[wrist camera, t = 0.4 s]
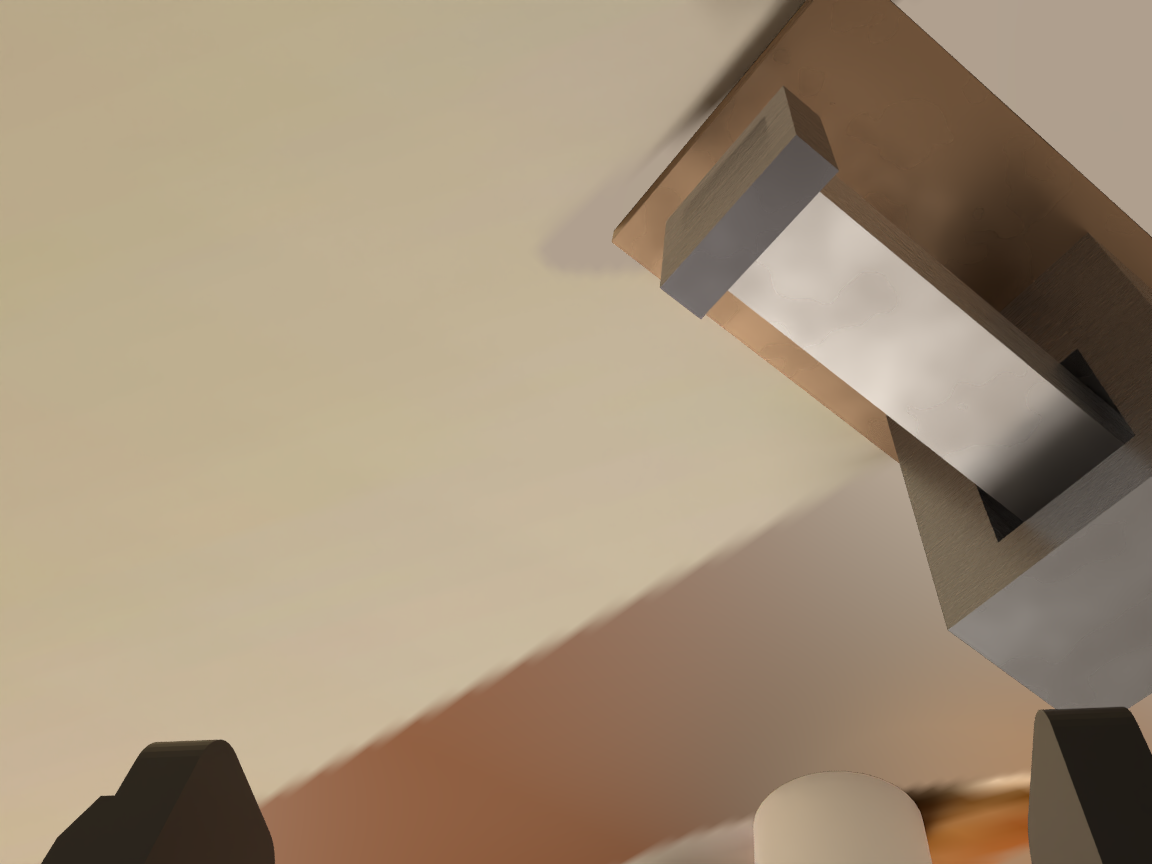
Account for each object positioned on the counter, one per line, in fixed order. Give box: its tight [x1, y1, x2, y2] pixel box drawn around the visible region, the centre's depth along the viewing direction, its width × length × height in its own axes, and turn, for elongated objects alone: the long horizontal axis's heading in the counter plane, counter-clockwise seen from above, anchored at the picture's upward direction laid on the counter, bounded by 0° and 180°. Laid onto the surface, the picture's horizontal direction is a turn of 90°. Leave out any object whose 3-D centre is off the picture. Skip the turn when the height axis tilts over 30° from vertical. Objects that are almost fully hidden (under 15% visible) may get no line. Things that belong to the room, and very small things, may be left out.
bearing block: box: [612, 0, 1152, 709], centre depth 30 cm, size 10×26×12 cm, turn 53°
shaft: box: [660, 85, 1135, 522], centre depth 28 cm, size 4×24×4 cm, turn 53°
